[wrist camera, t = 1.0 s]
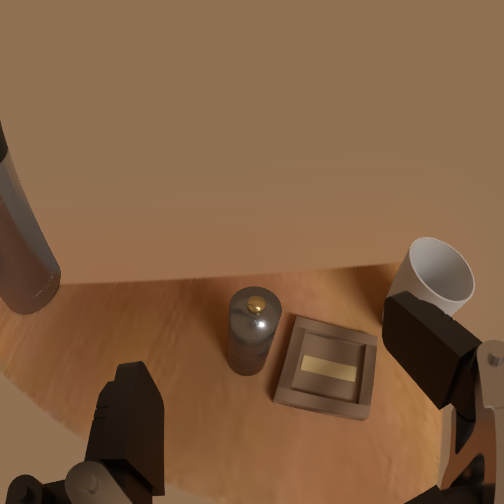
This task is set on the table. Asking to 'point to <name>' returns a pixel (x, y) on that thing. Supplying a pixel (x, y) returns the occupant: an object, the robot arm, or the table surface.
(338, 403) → the bay
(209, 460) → the table surface
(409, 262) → the cup
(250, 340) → the cell
